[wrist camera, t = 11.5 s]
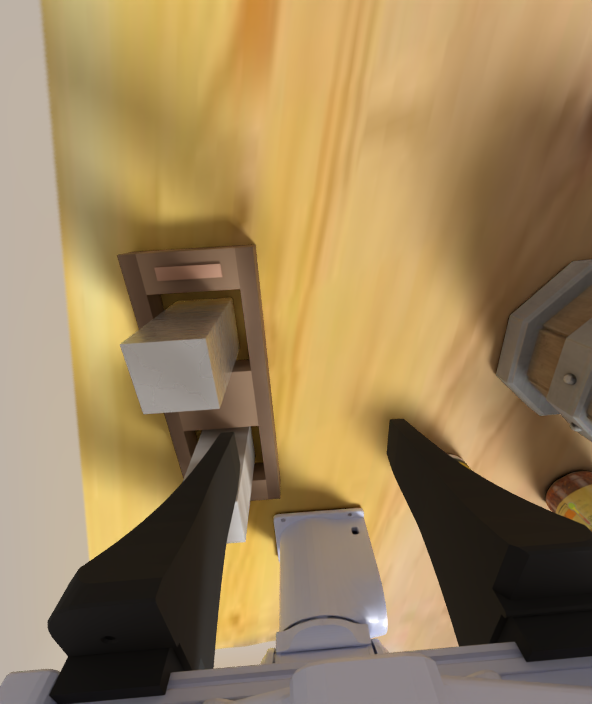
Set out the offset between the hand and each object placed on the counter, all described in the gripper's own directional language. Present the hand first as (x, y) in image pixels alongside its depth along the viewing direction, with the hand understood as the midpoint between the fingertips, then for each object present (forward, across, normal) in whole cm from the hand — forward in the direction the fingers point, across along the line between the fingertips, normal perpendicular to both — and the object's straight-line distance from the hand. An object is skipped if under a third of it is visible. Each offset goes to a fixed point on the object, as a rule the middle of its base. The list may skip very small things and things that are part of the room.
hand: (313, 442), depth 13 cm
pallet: (+10, +7, +3) cm, 13 cm away
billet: (+10, +7, -3) cm, 13 cm away
